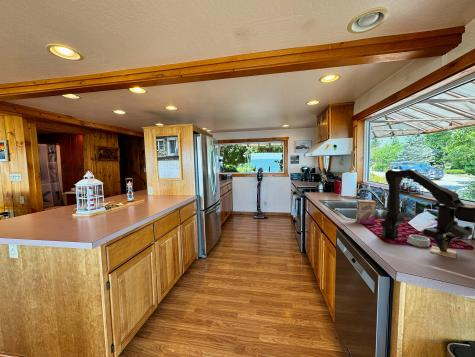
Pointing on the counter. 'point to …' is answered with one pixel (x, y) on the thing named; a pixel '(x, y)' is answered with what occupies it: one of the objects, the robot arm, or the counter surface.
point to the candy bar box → (365, 212)
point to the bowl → (419, 240)
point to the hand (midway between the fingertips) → (443, 249)
